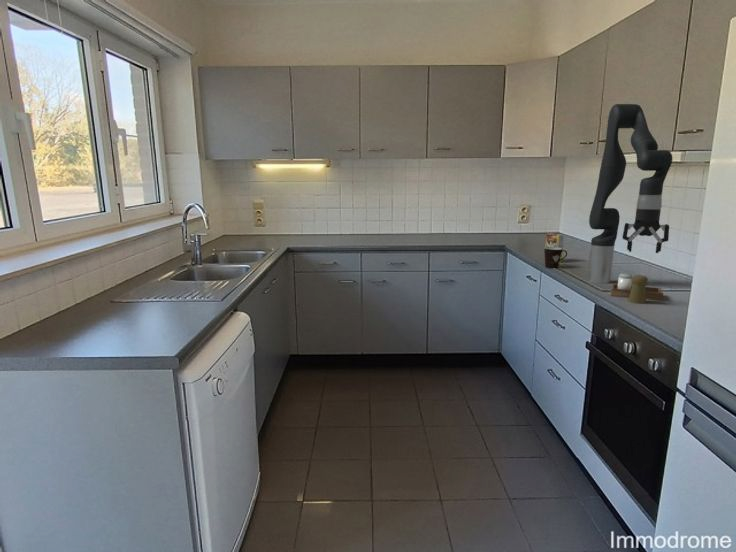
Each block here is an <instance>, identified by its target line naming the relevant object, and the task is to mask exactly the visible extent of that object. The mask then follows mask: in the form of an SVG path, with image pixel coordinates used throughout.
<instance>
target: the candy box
mask: <svg viewBox="0 0 736 552" xmlns="http://www.w3.org/2000/svg"><path fill="white" fill-rule="evenodd" d="M545 236H546V237H545V247H558V248H562V250H564V241H565V240H564V239H565V238H564V237H565V235H563V234H557V233H552V232H551V233H550V232H549V233H546V235H545ZM545 247H544V248H545ZM563 252H564V251H563ZM563 252H561V257H560V259H562V258H563ZM560 262H561V263H562V262H563V260H561V261H560Z"/></svg>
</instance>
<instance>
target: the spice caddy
mask: <svg viewBox="0 0 736 552" xmlns="http://www.w3.org/2000/svg"><path fill="white" fill-rule="evenodd" d="M617 287H618V283H611V285H610V297H612V298H613V297H614V298H623V299H625V298H626V299H629V296H630V292H631V290H625V289H617ZM631 289H632V287H631ZM645 291H646V301H657V302H663V299H664V295H665V293H664V291H663V290H662V287H653V286H645Z"/></svg>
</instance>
